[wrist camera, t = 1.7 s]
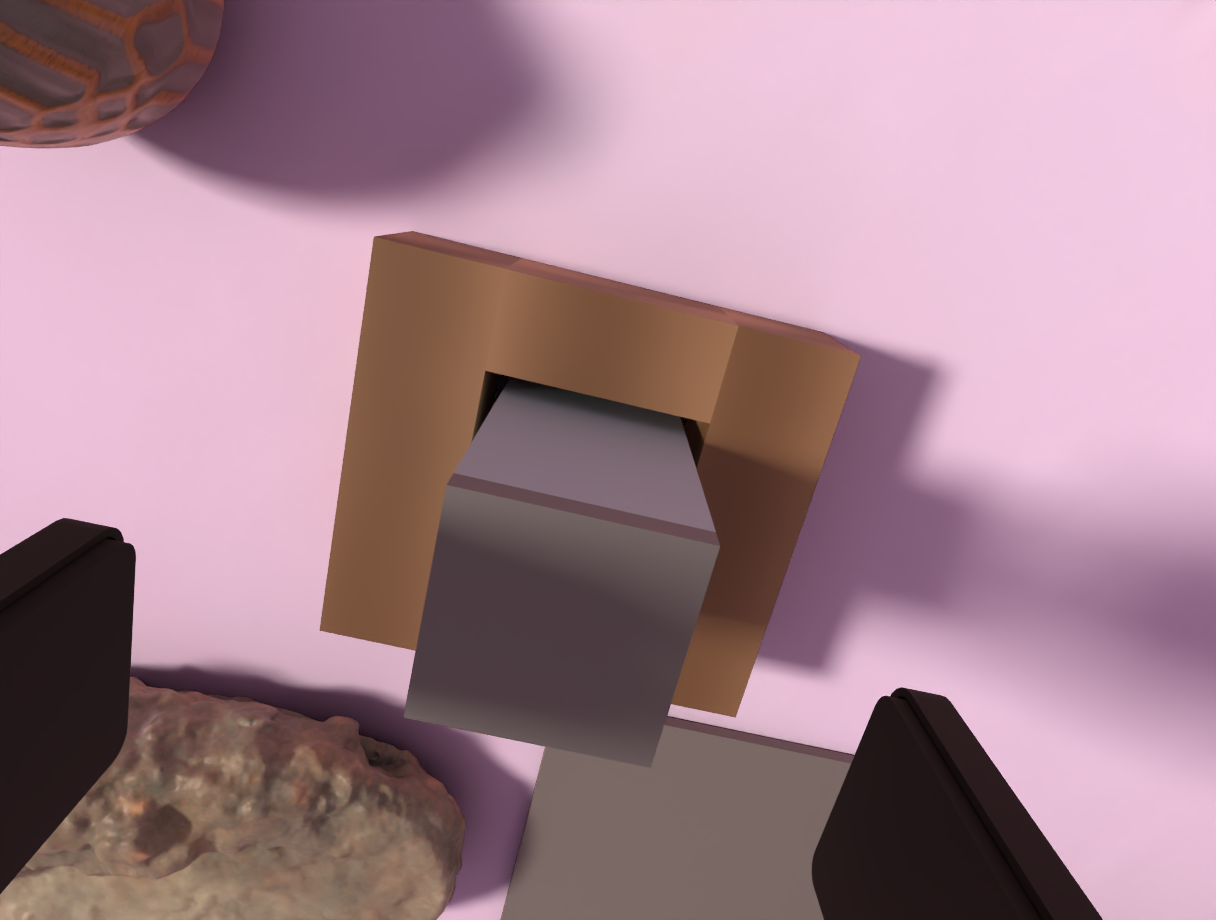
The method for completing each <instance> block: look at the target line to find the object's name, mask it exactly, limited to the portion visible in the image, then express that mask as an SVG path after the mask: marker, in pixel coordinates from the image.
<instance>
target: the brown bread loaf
mask: <svg viewBox="0 0 1216 920" xmlns="http://www.w3.org/2000/svg"><path fill="white" fill-rule="evenodd" d="M464 833H465V819H464V817H463V815H462V813H461V811H460V809H459V808H458V805H457V803H456V801H455V799H454V797H452V796H451V795H449V794H448V792H447V790H446V788H445V786H444V785H443V783H442V782H441V781H439V780H437V779H435V778H433V777H432V776H430V775H428V773H427V772H425V771H424V770H423V769H422V768H421V767H420V764H419V761H418V760H417V759H416V758H415V757H414V756H413V755H412V753H411V752H409V751H408V750H398V749H397V748H396V747H395V746H392V745H391V744H387V743H384V742H378V741H376V740H375V739H373V738H370V737H365V736H361V735H359V723H358V722H357V721H356V720H354V719H352V718H350V717H342V716H333V717H329V718H328V719H327V720H326V721H324V722H321V721H316V720H314V719H311V718H309V717H306V716H305V715H303V714H301V713H298V712H294V711H291V710H288V709H283V708H278V707H274V706H270V705H266V704H264V703H258V702H257V701H256V700H254V699H251V698H248V697H242V696H235V697H226V696H221V695H218V694H211V695H204V694H202V693H200V692H195V691H188V690H181V691H174V690H172V689H169V688H154V687H147V686H146V685H145V684H144V683H143V682H142V681H141V680H140V679H138V678H137V677H134V676H133V677H130V687H129V708H128V727H127V734H126V738H125V741H124V744H123V746H122V748H121V750H120V752H119V754H118V756H117V757H116V759H115V760H114V762H113V763H112V764H111V765H110V767H109V768H108V769H107V770H106V771H105V772H104V774H103V775H102V776H101V777H100V778H99V779H98V781H97V782H96V783H95V784H94V785H93V786H92V788H91V789H90V790H89V791H88V792H87V793H86V795H85V796H84V797H83V798H82V799H81V801H80V802H79V803H78V804H77V805H76V806H75V808H74V809H73V810H72V811H71V812H70V813H69V815H68V816H67V817H66V818H65V819H64V820H63V822H62V823H61V824H60V825H59V826H58V827H57V829H56V830H55V831H54V832H53V833H52V834H51V836H50V837H49V838H48V839H47V840H46V842H45V843H44V844H43V845H42V846H41V847H40V849H39V850H38V851H37V852H36V853H35V854H34V856H33V857H32V858H31V859H30V860H29V861H28V863H27V864H26V865H25V866H24V867H23V868H22V870H21V871H20V872H19V873H18V874H17V876H16V877H15V878H14V879H13V880H12V881H11V883H10V884H9V885H8V886H7V887H6V888H5V890H4V891H3V892H2V893H1V894H0V920H436V919H437V918H438V917H439V916H440V915H441V914H442V913H443V911H444V910H445V908H446V906H447V905H448V903H449V902H450V900H451V898H452V896H453V893H454V890H455V881H456V875H457V874H458V872H459V870H460V869H461V866H462V857H461V853H462V844H463V841H464Z"/></svg>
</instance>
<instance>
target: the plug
mask: <svg viewBox="0 0 1216 920" xmlns="http://www.w3.org/2000/svg"><path fill="white" fill-rule="evenodd" d="M719 549H720V544H719V541H718V537H717V534H716V531H715V528H714V524H713V521H712V518H711V515H710V511H709V508H708V505H707V502H706V498H705V495H704V492H703V489H702V486H701V482H700V479H699V476H698V473H697V469H696V466H695V463H694V460H693V456H692V453H691V450H690V447H689V443H688V440H687V437H686V434H685V431H684V427H683V424H682V421H681V418H680V416H676V415H672V414H667V413H663V412H659V411H655V410H650V409H646V408H642V407H638V406H633V405H629V404H625V403H621V402H616V401H612V400H608V399H604V398H599V397H595V396H591V395H587V394H582V393H578V392H574V391H570V390H565V389H561V388H557V387H553V386H548V385H544V384H540V383H536V382H531V381H527V380H523V379H519V378H514V377H510V378H509V380H508V382H507V384H506V385H505V387H504V389H503V390H502V392H501V394H500V395H499V397H498V399H497V400H496V402H495V404H494V405H493V407H492V409H491V410H490V412H489V414H488V416H487V417H486V419H485V421H484V422H483V424H482V426H481V427H480V429H479V431H478V432H477V434H476V436H475V437H474V439H473V441H472V443H471V444H470V446H469V448H468V449H467V451H466V453H465V454H464V456H463V458H462V459H461V461H460V463H459V464H458V466H457V468H456V469H455V471H454V473H453V475H452V476H451V478H450V480H449V481H448V483H447V485H446V490H445V495H444V501H443V506H442V511H441V517H440V522H439V528H438V533H437V538H436V544H435V549H434V555H433V560H432V566H431V571H430V576H429V582H428V587H427V593H426V598H425V603H424V609H423V614H422V620H421V625H420V631H419V636H418V641H417V647H416V652H415V658H414V663H413V668H412V674H411V679H410V685H409V690H408V695H407V701H406V706H405V712H404V717H403V718H408V719H413V720H418V721H423V722H427V723H432V724H437V725H442V726H447V727H452V728H457V729H462V730H467V731H472V732H477V733H482V734H487V735H491V736H496V737H501V738H506V739H511V740H516V741H521V742H526V743H531V744H536V745H541V746H546V747H551V748H555V749H560V750H565V751H570V752H575V753H580V754H585V755H590V756H595V757H600V758H605V759H610V760H615V761H619V762H624V763H629V764H634V765H639V766H644V767H649V768H651V765H652V762H653V759H654V756H655V753H656V750H657V746H658V743H659V740H660V737H661V734H662V730H663V727H664V724H665V721H666V718H667V714H668V711H669V708H670V705H671V702H672V699H673V695H674V692H675V689H676V686H677V683H678V679H679V676H680V673H681V670H682V667H683V663H684V660H685V657H686V654H687V651H688V648H689V644H690V641H691V638H692V635H693V632H694V628H695V625H696V622H697V619H698V616H699V612H700V609H701V606H702V603H703V600H704V597H705V593H706V590H707V587H708V584H709V581H710V577H711V574H712V571H713V568H714V565H715V561H716V558H717V555H718V552H719Z"/></svg>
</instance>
